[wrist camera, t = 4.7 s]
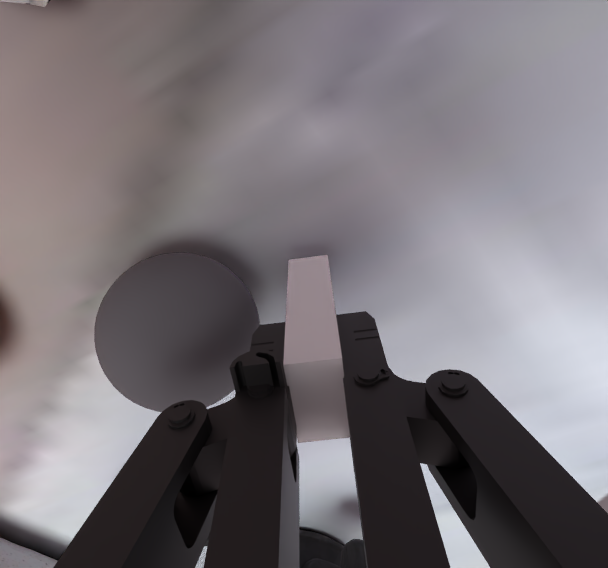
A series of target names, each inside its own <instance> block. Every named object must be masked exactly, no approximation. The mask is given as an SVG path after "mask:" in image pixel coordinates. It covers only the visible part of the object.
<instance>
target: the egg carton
mask: <svg viewBox="0 0 608 568" xmlns="http://www.w3.org/2000/svg"><path fill="white" fill-rule="evenodd" d="M0 1H3V2H13V3H23V4H31V5H36V6H41V7H45V6H46V5H47V3H48V2H49V1H50V0H0Z"/></svg>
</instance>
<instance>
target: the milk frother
mask: <svg viewBox="0 0 608 568" xmlns="http://www.w3.org/2000/svg"><path fill="white" fill-rule="evenodd" d="M209 536H210V533H209ZM209 536H208V538H207V540H206V543H205V545H204V546H208V542H209ZM299 568H367V565H366V558H365V550H364V542H363V540H360V539H353V540H351V541H350V542H348V543H346V545H345V546H343V545H342V544H340V543H339V542H337V541H334V540H332V539H331V538H329V537H327V536H324V535H321V534H318V533H315V532H311V531H304V530H299Z"/></svg>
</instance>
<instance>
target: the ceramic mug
mask: <svg viewBox="0 0 608 568" xmlns="http://www.w3.org/2000/svg"><path fill="white" fill-rule="evenodd" d="M57 562H58V561H57V560H55V559H52V558H50V557H48V556H45V555H43V554H40V553H38V552H36V551H33V550H31V549H28V548H25V547H23V546H20V545H17V544H15V543H12V542H9V541H7V540H5V539H3V538H0V568H53V567H54V566H55V564H56V563H57Z"/></svg>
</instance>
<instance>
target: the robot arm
mask: <svg viewBox="0 0 608 568" xmlns="http://www.w3.org/2000/svg"><path fill="white" fill-rule="evenodd" d="M229 369H230V372H231V376H232V380H233V384H234V388H235V392H236V394H235V397H234V398H233V399H231V400H230V401H228V402H226V403H223V404H221V405H219V406H216V407H213V408H210V409H206V406H205V405H204V404H203V403H201V402H199V401H195V400H186V401H181V402H178V403H175V404H173V405H171V406H169V407H168V408H166V409H165V410H164V411H163V412H162V413H161V414H160V415H159V416H158V417H157V419H156V420H155V422H154V423H153V424H152V426H151V427H150V429H149V430H148V432H147V433H146V435H145V436H144V437H143V439H142V440H141V442H140V443H139V445H138V446H137V448H136V449H135V450H134V452H133V453H132V455H131V456H130V458H129V459H128V461H127V462H126V463H125V465H124V466H123V468H122V469H121V471H120V472H119V474H118V475H117V476H116V478H115V479H114V481H113V482H112V484H111V485H110V487H109V488H108V489H107V491H106V492H105V494H104V495H103V497H102V498H101V499H100V501H99V502H98V504H97V505H96V507H95V508H94V510H93V511H92V512H91V514H90V515H89V517H88V518H87V520H86V521H85V523H84V524H83V525H82V527H81V528H80V530H79V531H78V533H77V534H76V536H75V537H74V538H73V540H72V541H71V543H70V544H69V546H68V547H67V549H66V550H65V551H64V553H63V554H62V556H61V557H60V559H59V560H58V562H57V563H56V564H55V566H54V567H53V568H195V566H196V564H197V562H198V559H199V557H200V555H201V552H202V550H203V548H204V545H205V543H206V540H207V538H208V536H209V533H210V536H209V542H208V547H207V553H206V558H205V564H204V568H299V455H298V450H297V445H296V438H297V439H298V443H301V442H311V441H320V440H329V439H339V438H348V437H350V441H351V449H352V457H353V466H354V472H355V480H356V488H357V496H358V503H359V511H360V519H361V527H362V534H363V542H364V550H365V558H366V565H367V568H450V565H449V562H448V558H447V555H446V551H445V548H444V544H443V541H442V538H441V534H440V531H439V527H438V524H437V520H436V517H435V514H434V510H433V507H432V503H431V500H430V496H429V493H428V490H427V486H426V483H425V479H424V476H423V472H422V469H421V466H420V463H423V464H427V465H428V468H429V470H430V472H431V474H432V475H433V477H434V478H435V480H436V482H437V483H438V485H439V486H440V488H441V489H442V491H443V493H444V494H445V496H446V497H447V499H448V501H449V502H450V504H451V505H452V507H453V509H454V510H455V512H456V513H457V515H458V517H459V518H460V520H461V521H462V523H463V525H464V526H465V528H466V529H467V531H468V532H469V534H470V536H471V537H472V539H473V540H474V542H475V544H476V545H477V547H478V548H479V550H480V552H481V553H482V555H483V556H484V558H485V560H486V561H487V563H488V564H489V566H490V568H608V513H607V512H606V511H605V510H604V509H603V508H602V507H601V506H600V505H599V504H598V503H597V502H596V501H595V500H594V499H593V498H592V497H591V496H590V495H589V494H588V493H587V492H586V491H585V490H584V489H583V488H582V487H581V486H580V485H579V484H578V482H577V481H576V480H575V479H574V478H573V477H572V476H571V475H570V474H569V473H568V472H567V471H566V470H565V469H564V468H563V467H562V466H561V465H560V464H559V463H558V462H557V461H556V460H555V459H554V458H553V457H552V456H551V455H550V454H549V453H548V452H547V451H546V450H545V448H544V447H543V446H542V445H541V444H540V443H539V442H538V441H537V440H536V439H535V438H534V437H533V436H532V435H531V434H530V433H529V432H528V431H527V430H526V429H525V428H524V427H523V426H522V425H521V424H520V423H519V422H518V421H517V420H516V419H515V418H514V417H513V416H512V414H511V413H510V412H509V411H508V410H507V409H506V408H505V407H504V406H503V405H502V404H501V403H500V402H499V401H498V400H497V399H496V398H495V397H494V396H493V395H492V394H491V393H490V392H489V391H488V390H487V389H486V388H485V387H484V386H483V385H482V384H481V383H480V381H479V380H478V379H476V378H475V377H473V376H472V375H471V374H468V373H466V372H463V371H460V370H450V369H449V370H442V371H438V372H436V373H434V374H432V375H431V376H430V377H429V378H428V379H427V380H426V383H419V382H412V381H407V380H404V379H402V378H399V377H398V376H396V375H394V374H393V372H392V371H391V369H390V368H389V367H388V365H387V361H386V358H385V354H384V351H383V347H382V344H381V340H380V338H379V333H378V330H377V326H376V323H375V319H374V318H373V317H372V316H371V315H369V314H368V313H367V312H366V311H365V312H356V313H348V314H340V315H336V311H335V304H334V297H333V290H332V283H331V276H330V269H329V262H328V255H322V256H314V257H306V258H298V259H290V260H289V262H288V282H287V302H286V321H285V322H282V323H274V324H266V325H260V326H259V327H258V328H257V329H256V331H255V332H254V333H253V334H252V340H251V346H250V351H249V352H246V353H244V354H242V355H240V356H238V357H237V358H236V359H235V360H234V361H233V362H232V364H231V365H230V367H229Z"/></svg>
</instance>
